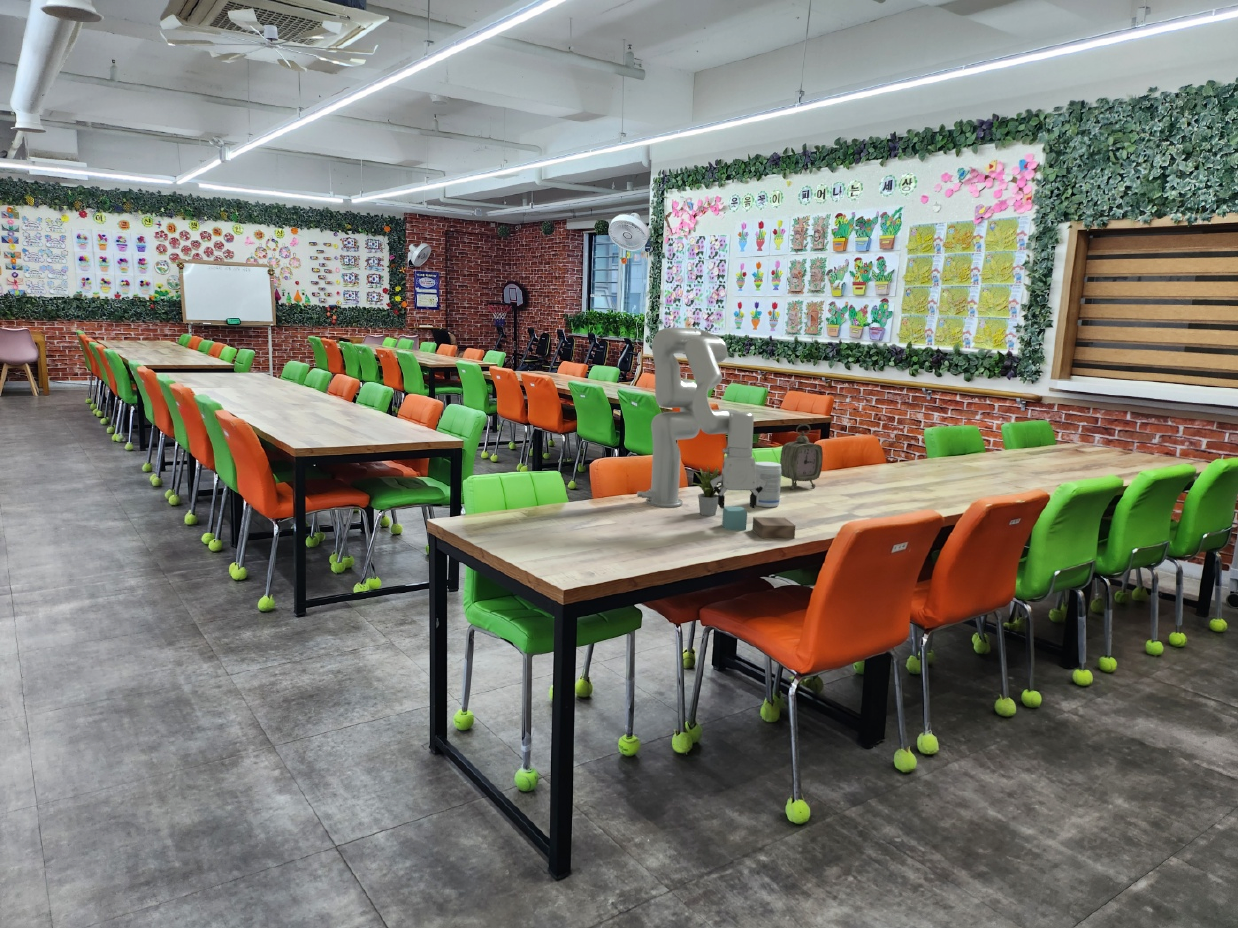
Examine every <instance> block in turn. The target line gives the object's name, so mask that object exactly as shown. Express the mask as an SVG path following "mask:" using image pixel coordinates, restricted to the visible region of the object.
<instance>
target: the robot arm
mask: <svg viewBox="0 0 1238 928" xmlns="http://www.w3.org/2000/svg"><path fill="white" fill-rule="evenodd" d="M727 347H728V346H727V344H726V342H725V341H724V340H723V339H722V338H721V337H719V336H717V335H715V334H712V333H711V332H708V331H706V330H704V329H701V328H695V327H692V328H691V327H666V328H662V329H660V330H658V331H657V332H656V334H655V335H654V336H653V340H652V344H651V351H652V352H651V353H652V358H653V363H654V392H655V395H654V396H655V402H656V404H657V406H658V407H660V408H662V409H663V408H665V409H675V408H677V409H678V408H679V411H664V412H660V413H658V414H656V415H655V416H653V418H652V420H651V424H650V428H651V429H650V430H651V435H652V463H651V464H652V465H651V481H650V483H651V485H650V488H649V489H648V490H646V491H637V492H636V496H637V498H642V499H645V503H646V504H647V505H649V506H653V507H661V508H676V507H680V506H683V502H684V501H683V499H681V498H679V492H680V490H679V489H680V476H681V475H680V473H681V459H682V458H681V457H682V456H681V449H680V447H679V444H678V443H677V441H679V440H690V439H695V438H696V437H697V435H699V433H700V431H702V433H704V434H707V435H718V434H721V435H722V434H727V445H726V448H722V454H726V456H724V459H723V464H722V469H721V474H720V475H718V476H717V478H715V479H713V480H711V481H710V483H711V485H712V487H713V489H714V490H715V491H716V494H717V495H718V506H719V508H720V509H722V510H723V508H724V507H725V501H726V500H725V498H726V497H725V495H724V494H725V493H726V492H727V491H749V492H751V493H750V494H749V507H750V508H751V509H755V508H756V500H757V495H758V494H759V493H760V492H761V491H762V489H763V487H764V485H765V484H766V481H764V480H762V479H761V478H759V477H757V476H756V466H755V462H756V460H755V459H756V458H755V457H753V439H754V438H753V437H754V423H755V422H754V421H755V420H754V419H755V418H754V415H753V414H752V413H750V412H745V411H738V410H737V409H731V408H730V409H729V408H728V409H727V408H726V409H712V407H711V404H710V402H709V397H708V393H709V391H711V390H713V389H714V388H716V387H717V386H718V385H720V383H722V381H723V375H722V372H721V369H720V367H719V365H718V364H719V363H723V362H724V361H725V360H726V359H727V355H728V348H727ZM675 354H683V355H684V354H685V356H686V360H687V362H688V365H689V368H690V370H691V372H692V377H693V379H694V381H695V382H694V381H693V380H691V379H681V367H680V366H681V365H680V363H679V361H678V359H677V358H676V356H675ZM756 481H758V482H759V483H760V484H759V486H758V487H757V488H756ZM717 482H719V483H720V485H721V488H718V485H716V484H717ZM755 488H756V489H755Z"/></svg>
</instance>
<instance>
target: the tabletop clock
mask: <svg viewBox="0 0 1238 928" xmlns="http://www.w3.org/2000/svg"><path fill="white" fill-rule="evenodd" d="M804 426H805V427H807V428H808V431H807V432H805V431H801V432H798V429H799V428H800V427H804ZM795 431H796V432H795V433H797V434H798V436H797V437H796V438H795V441H789V442H787V443H785V444H783V445H782V447H781V451H780V457H779V464H781V477H784V478H786V479H791V485H790V486H789V488H790V490H794V489H795V487H797V485H798V483H797V482H810V484H811V486H810V487H811V488H812V489H815V487H816V484H815V483H814V482H813V481H816V480H818V478H820V475H821V473H822V467H823V458H824V457H823V456H824V453H823V447H822V445H820V444H817V443H813V442H810V440H809V438H808V436H807V435H808V434H810V432H811V426H810V425H809V424H806V423H802V424H799V425H798V426H797V427H796V429H795Z"/></svg>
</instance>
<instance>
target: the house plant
mask: <svg viewBox="0 0 1238 928" xmlns="http://www.w3.org/2000/svg"><path fill="white" fill-rule="evenodd" d="M699 471H700V474H698V473H697V472H695V471H693V473H695V474H696V476H697V478H698V479H699V480H700V482H701V483H696V482H691V483H690V485H694V486H697V487H699V488H700V489H701V490H702V491H703V493H699V494H698V495H697V496H698V497H697V498H698V506H699V514H700V515H701V514H702V516H706V517H712V516H713V517H714V516H716V514H717V511H718V506H719V505H718V494H717V492H716V491H715V490H714V489H713V487H712V485H711V483H710V481H711V480H713V479H715V478H717V477H719V472H720V471H721V468H720V469H718V466H716V467H715V469H714V471H713V472H712V474H711V471H710V467H709V465H707V470H705V471H704V470H703V469H702V468H701V467H699ZM716 485H717V487H718V488H719V489H720V488H721V484H720V481H719V482H717V483H716Z"/></svg>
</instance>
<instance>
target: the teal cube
mask: <svg viewBox="0 0 1238 928" xmlns="http://www.w3.org/2000/svg"><path fill="white" fill-rule="evenodd" d="M747 518H748V511H747V510H746V509H745V508H744V507H743V506H724V508H723V509H722V518H721V519H722V522H721V526H722V527H723V528H725V530H727V531H747V524H748V523H747V521H748V519H747Z"/></svg>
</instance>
